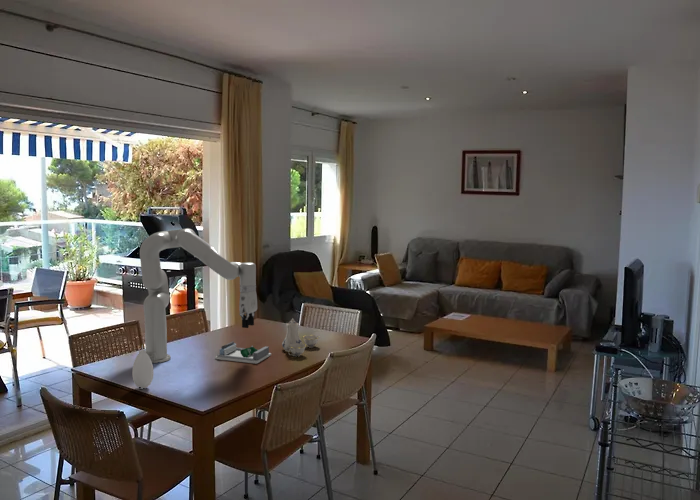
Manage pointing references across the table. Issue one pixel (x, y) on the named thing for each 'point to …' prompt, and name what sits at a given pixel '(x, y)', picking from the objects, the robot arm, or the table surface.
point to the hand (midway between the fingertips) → (248, 326)
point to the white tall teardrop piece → (142, 370)
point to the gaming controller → (248, 351)
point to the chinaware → (297, 340)
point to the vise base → (237, 356)
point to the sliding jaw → (228, 348)
